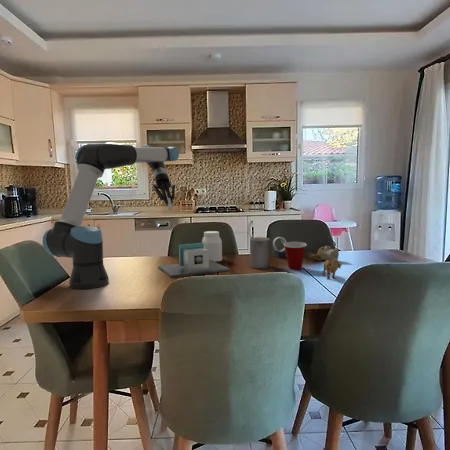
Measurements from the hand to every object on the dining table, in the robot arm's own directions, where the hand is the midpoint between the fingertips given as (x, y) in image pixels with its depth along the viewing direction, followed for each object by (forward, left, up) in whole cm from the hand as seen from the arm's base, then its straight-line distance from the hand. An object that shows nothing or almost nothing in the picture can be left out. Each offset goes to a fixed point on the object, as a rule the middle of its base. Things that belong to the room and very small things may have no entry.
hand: (170, 208), depth 192 cm
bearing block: (+3, -24, -28) cm, 37 cm away
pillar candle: (+34, -34, -28) cm, 56 cm away
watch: (+56, -18, -28) cm, 65 cm away
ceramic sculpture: (+71, -38, -28) cm, 85 cm away
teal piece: (+3, -28, -26) cm, 38 cm away
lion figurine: (+49, -67, -28) cm, 88 cm away
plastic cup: (+46, -46, -28) cm, 71 cm away
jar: (+20, -7, -28) cm, 35 cm away
